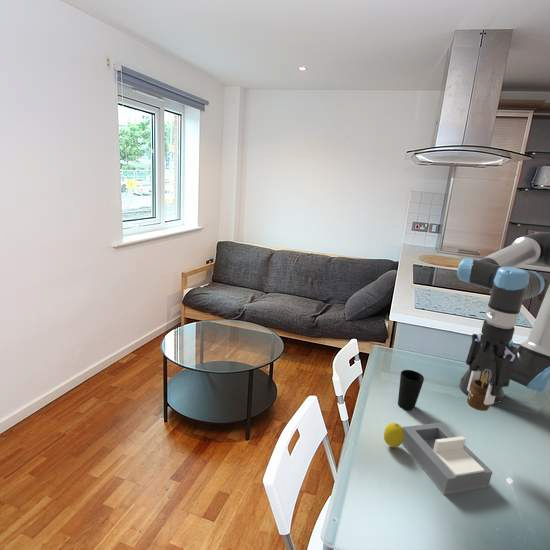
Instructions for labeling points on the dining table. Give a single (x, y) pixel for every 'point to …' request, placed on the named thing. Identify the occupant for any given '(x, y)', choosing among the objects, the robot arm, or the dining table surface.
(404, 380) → the cup
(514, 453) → the dining table surface
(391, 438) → the lemon
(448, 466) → the panel
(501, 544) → the dining table surface
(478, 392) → the utensil holder
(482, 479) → the socket block
